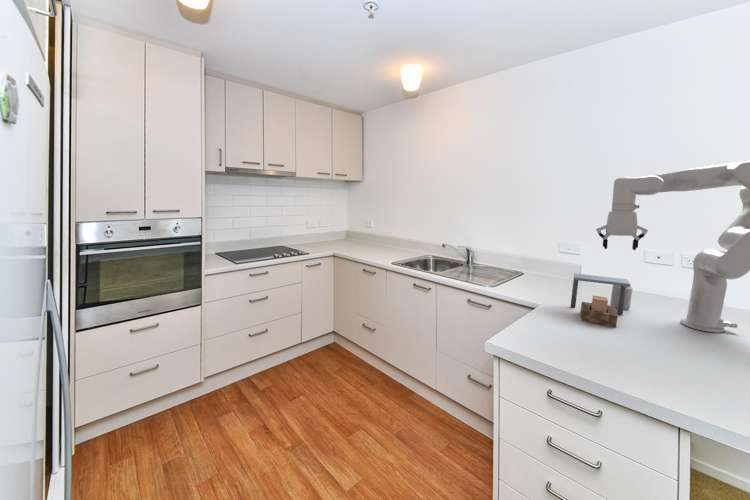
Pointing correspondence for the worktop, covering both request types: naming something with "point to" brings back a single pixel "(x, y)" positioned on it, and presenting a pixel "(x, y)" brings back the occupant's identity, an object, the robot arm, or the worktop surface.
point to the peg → (599, 304)
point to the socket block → (598, 315)
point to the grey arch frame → (604, 280)
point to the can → (616, 295)
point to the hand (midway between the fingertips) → (619, 249)
